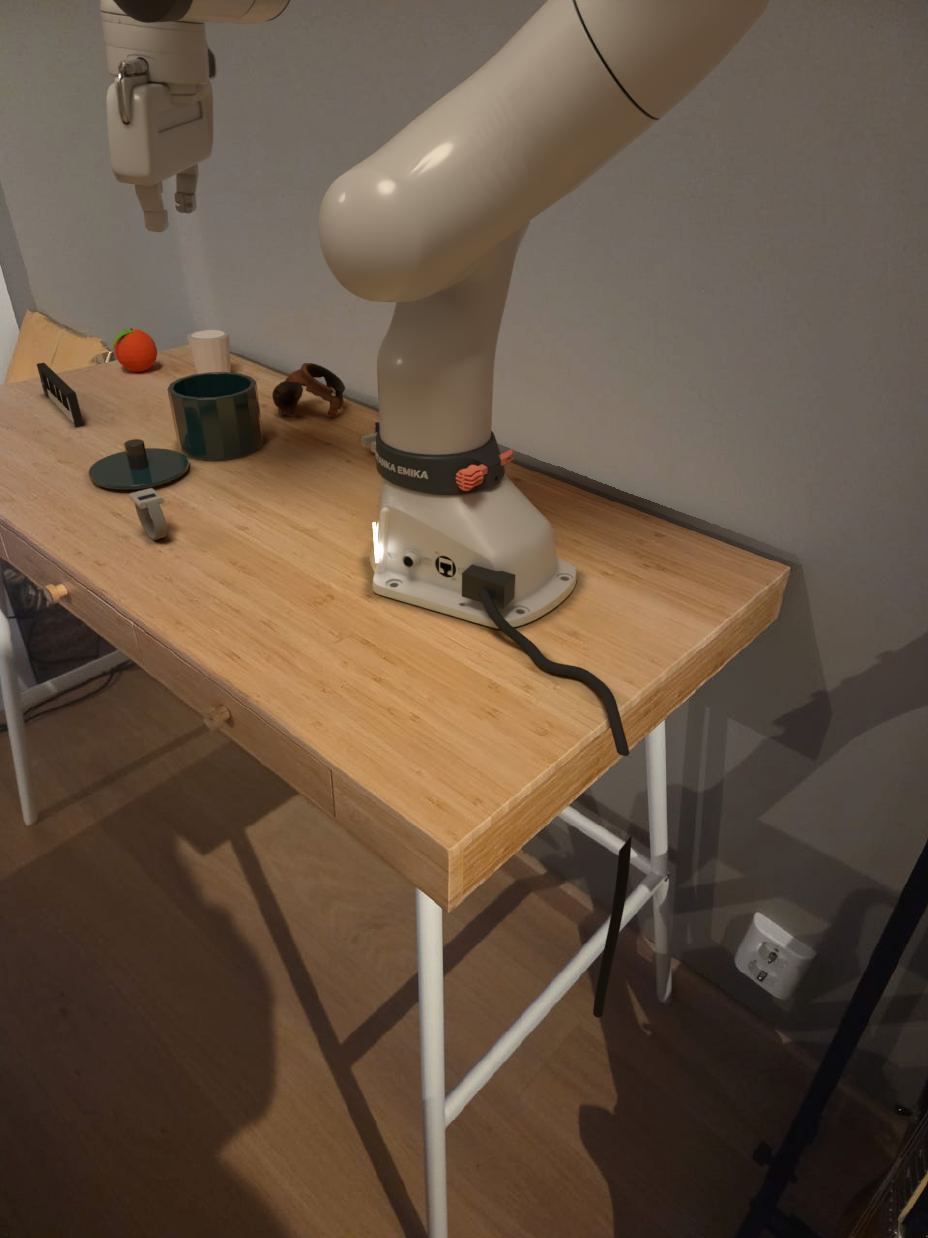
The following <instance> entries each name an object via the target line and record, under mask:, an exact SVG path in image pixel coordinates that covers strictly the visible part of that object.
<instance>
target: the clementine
mask: <svg viewBox="0 0 928 1238" xmlns="http://www.w3.org/2000/svg"><path fill="white" fill-rule="evenodd" d="M112 350H113V352H114V357H115V359H116V360H117V362H118V363H119V364H120V365H121V366H122V367H124V368H125V369H127V370H129V371H132V372H143V371H146V370H148V369H150V368H152V366H154V364H155V362H156V361H157V358H158V348H157V345H156V342H155V340H154V339H153V338H152V336H150V334H148V333H147V332H145V331H143V330H141V329H137V328H130V329H125V330H123V331H120V333H118V334H117V335H116V336H115V338H114V340H113V343H112Z"/></svg>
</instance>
